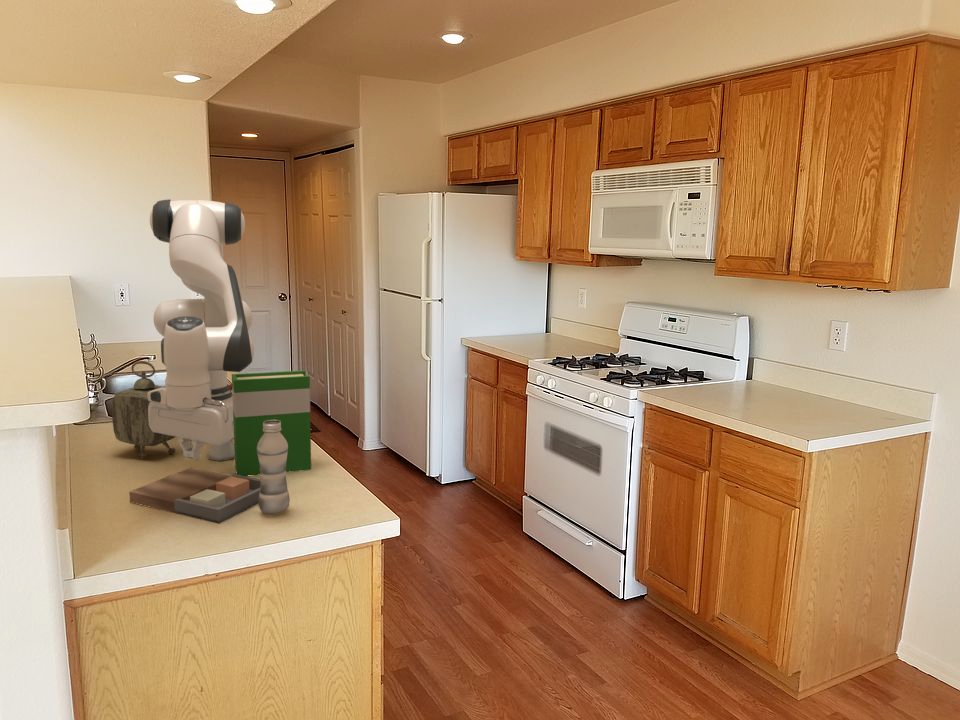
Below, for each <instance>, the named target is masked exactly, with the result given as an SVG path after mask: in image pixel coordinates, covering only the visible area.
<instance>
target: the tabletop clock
mask: <svg viewBox="0 0 960 720" xmlns="http://www.w3.org/2000/svg"><path fill="white" fill-rule="evenodd" d="M139 364H142V365H147V366H149V367H150V368H151V369H152V373H151V374H150V373H149V374H147V373H146V371H142V372H141V374H140V373H138V372H136V371H135V369H134V368H135V366H137V365H139ZM130 369H131V371H132V373H133V374H134V375H135V376H137V377H138V378H139V377H140V378H139V379H136V380H135V382H134V384H133V387H130V388H126V389H124V390H120V391H117V392H116V393H115V394H114V396H113V398H112V404H111V417H112V426H113V432H114V436H115V438H116V440H118V441H119V442H122V443H126V444H129V445H134V446H133V448H134V450H136V451H138V450H140V449H141V451H139V453H138V456H139V458H143V459H144V458H145V457H146V456H147V454H146V451H145V449H146V447H156V446H158V445H163V446H165V448H167V449H168V454H170V455H174V454H175V453H176V449H175V448H173V447H170V445H169V443H168V442H169V441H170V440H173V439H175V438H176V437H175V436H170V435H165V434H161V433H156V432H153V431H152V430H151V428H150V427H149V421H148V406H149V403H150V402H151V401H149V400H148V397H147V394H148V392H149V391H152V390H155V389H158V388H162V387H164V386H165V385H164V386H163V385H158V384H157V385H156V384H155V382H154V381H153V380H152V378H151V377H153V376H154V375H155V374H156V369H155V366H154V365H153V364H152V363H151V362H148V361H145V360H138V361H135V362H133V364H132V366H131V368H130Z"/></svg>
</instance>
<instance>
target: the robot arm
mask: <svg viewBox="0 0 960 720" xmlns="http://www.w3.org/2000/svg"><path fill="white" fill-rule="evenodd" d="M149 225H150V228H151V231H152V233H153V235H154V237H155V238H156V239H157V240H158V241H161V242H163V243H168V245H169V246H168V255H169V258H168V259H169V264H170V268H171V269H172V271H173V273H174V274H176V275H177V277H179V279H181V282H182V284H183V285H184V286H185V287H186V288H187V289H189V290H191V291H192V292H195V293H196V294H199V295H200V296H202V297H203V298H176V299H171V300H167V301H162V302H160V303H159V304H158V306H157V307H156V308H155V310H154V313H153V325H154V327H155V329H156V330H157V331H156V332H158V333H159V335H161V336H162V337H163V338H162V339H161V342H160V353H161V354H160V355H161V356H160V357H161V363H162V364H163V365H164V366H165V369H166V377H165V380H164V381H165V383H164V384H165V385H164V387H162V388H158V389H155V390H152V391H149V392H148V394H147V397H148V400H149V401H151V402H150V403H149V406H148V421H149V427H150V428H151V430H152V431H153V432H156V433H161V434H165V435H170V436H175V438H177V439H178V441H177V442H178V444H179V445H180V447H181V449H182V450H183V452H182V453H183V458H186V459H192V460H197V459H199V458H201V449H202V447H203V445H204V444H209V445H212V444H214V445H219V446H220V445H223V444H226V443H228V442H230V441H231V440H232V439H234V423H233V396H232V383H231V384H228V372H232V373H234V372H235V373H240V372H242V371H243V370H245V369H247V367H248V366H250V364H251V363H253V359H254V355H255V353H254V351H255V347H254V342H253V338H252V336H251V334H250V332H249V330H250V328H251V326H252V325H253V313H252V309H251V307H250V306H249V305H248V303H246V301H244V300H243V299H242V295H241V294H242V293H241V289H240V286H239V282H238V279H237V273H236V272H235V270H234V267H233V266H232V265H231V264H228V263H226V261H225V260H224V257H225V256H224V255H225V254H224V244H225V245H226V246H227V245H228V246H229V245H234V244H237V243H238V242H240V241H241V240H242V238H243V235H244V233H245V230H246V220H245V215H244V213H243V212H242V209H241V207H240V206H239V205H238V204H236V203H231V202H229V201H225V202H220V201H217V200H216V201H214V200H209V199H208V200H206V199H179V200H171V199H170V198H169V199H162V200H158V201H156V203H155V204H153V205H152V209H151V211H150V215H149ZM190 440H191V443H190ZM192 445H193V446H192Z"/></svg>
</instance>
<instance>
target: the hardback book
mask: <svg viewBox="0 0 960 720" xmlns="http://www.w3.org/2000/svg"><path fill="white" fill-rule="evenodd" d="M310 377H311V376H310V375H306V370H287V371H269V372H268V371H267V372H266V371H265V372H250V373H249V372H247V373H246V372H245V373H231V384H232V390H231V392H232V396H233V423H234V438H233V445H234V450H235V458H234V469H235V468H236V469H235V473H236V472H237V473H236V474H237V475H242V476H247V477H249V476H248V475H254V476H259V475H258V474H260V464H259V459H258V454H257V444H258V442H259V440H260V439H261V437H262V436H263V434H264V432H263V422H264V421H268V420H279V421H281V431H280V433H281V434H282V435H283V437H284V438H285V440H286V441H287V444H288V452H287V461H286V473H290V472H289V471H293V472H299V470H303V471H310V469H311V470H312V441H311V440H312V439H311V436H312V435H311V434H312V433H311V386H310V385H311V382H310V381H311V380H310Z"/></svg>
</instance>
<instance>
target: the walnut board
mask: <svg viewBox="0 0 960 720" xmlns="http://www.w3.org/2000/svg"><path fill="white" fill-rule="evenodd" d="M231 475H232V474H226V473H222V472H217V471H212V470H207V469H202V468H196V467H192V466H191V467H189V468H186V469H184V470H181V471H179V472H176V473H173V474H171V475H168V476H166V477H163V478H160V479H158V480H156V481H153V482H152V481H151V482H150V483H148V484H145V485H143V486H140V487H137V488H134V489H132V490H129V503H131V502H134V503H133V504H135V503H138V504H137V505H139V504H142V505H141V506H143V505H146V506H145V507H147V506H150V507H149V508H151V507H154V508H153V509H156V508H157V510H160V509H161V510H160V511H164V510H165V511H164V512H168V511H169V512H168V513H172V512H173V513H174V514H176V513H175V503H174V500H175V499H177V498H179V499H184V500H188V501H190V496H193V495H195V494H197V493H199V492H202V491H204V490H206V489H209V490H214V491H216V483H217V482H220V481H222V480H224V479H227V478H229V477H231ZM173 513H172V514H173Z"/></svg>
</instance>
